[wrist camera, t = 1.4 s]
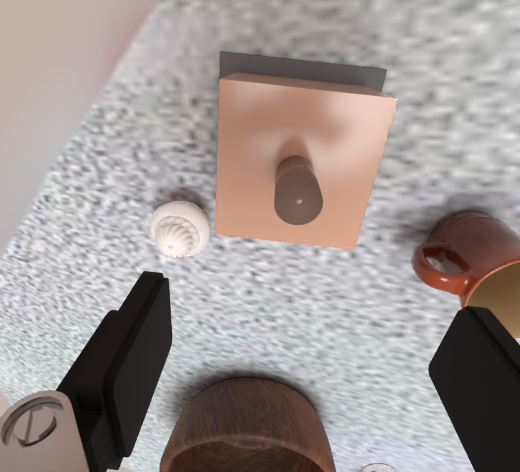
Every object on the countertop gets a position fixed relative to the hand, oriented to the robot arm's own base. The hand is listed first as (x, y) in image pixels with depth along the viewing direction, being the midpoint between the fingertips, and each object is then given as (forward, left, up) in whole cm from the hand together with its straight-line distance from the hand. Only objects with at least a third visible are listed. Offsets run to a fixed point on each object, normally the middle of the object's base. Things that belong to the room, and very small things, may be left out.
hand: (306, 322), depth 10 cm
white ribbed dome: (+9, -10, -24) cm, 27 cm away
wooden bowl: (+45, 0, -24) cm, 51 cm away
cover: (0, 0, -23) cm, 23 cm away
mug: (+8, +18, -24) cm, 31 cm away
